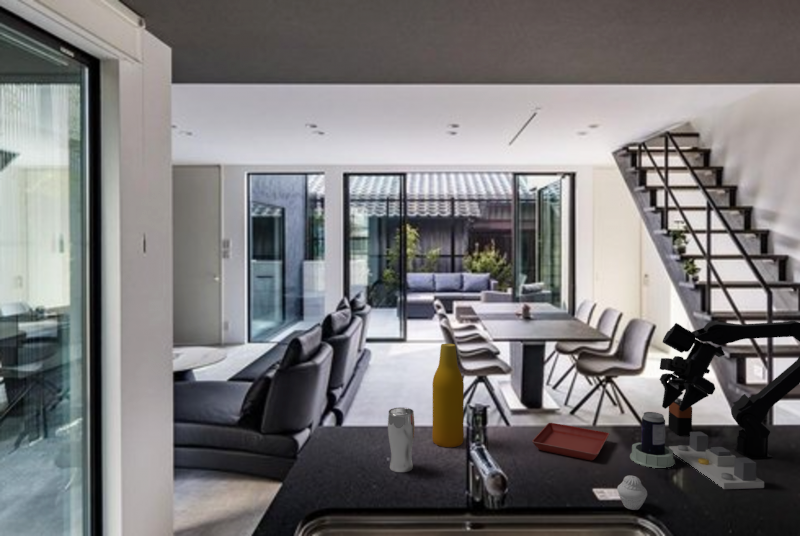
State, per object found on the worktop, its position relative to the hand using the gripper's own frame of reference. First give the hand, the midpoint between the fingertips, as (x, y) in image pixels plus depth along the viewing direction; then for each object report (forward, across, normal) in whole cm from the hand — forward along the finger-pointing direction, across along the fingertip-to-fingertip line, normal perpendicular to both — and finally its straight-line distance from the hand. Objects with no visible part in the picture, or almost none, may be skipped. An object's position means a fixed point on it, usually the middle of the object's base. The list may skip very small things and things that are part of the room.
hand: (671, 409), depth 148 cm
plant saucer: (+24, -8, -16) cm, 30 cm away
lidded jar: (+29, +26, -10) cm, 41 cm away
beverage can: (+15, +2, +1) cm, 15 cm away
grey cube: (+6, +8, +13) cm, 16 cm away
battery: (+1, -19, +14) cm, 23 cm away
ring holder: (+15, +2, +1) cm, 15 cm away
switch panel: (+9, +7, +13) cm, 17 cm away
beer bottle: (+42, -11, -46) cm, 64 cm away
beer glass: (+54, +6, -55) cm, 77 cm away
